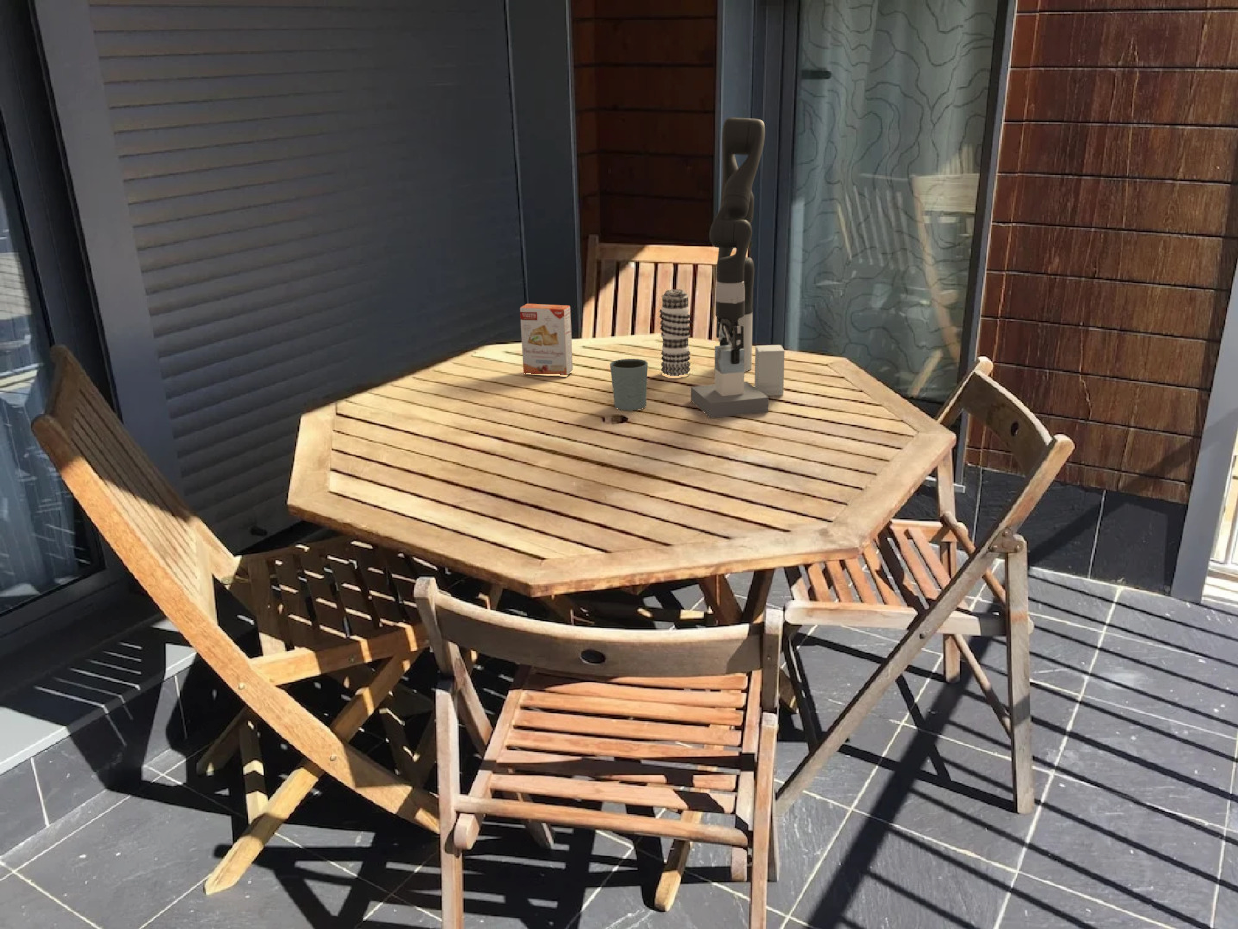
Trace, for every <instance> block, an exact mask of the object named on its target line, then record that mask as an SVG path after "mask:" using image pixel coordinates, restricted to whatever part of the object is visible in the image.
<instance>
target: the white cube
mask: <svg viewBox="0 0 1238 929" xmlns="http://www.w3.org/2000/svg"><path fill="white" fill-rule="evenodd" d="M744 382H745V372H738V373H727V374H721V373H720V372H719V371H718V370H716V369H715V368H714V385H715V391H717V392H718V393H719V394H720V395H722V396H728V395H738V394H744Z"/></svg>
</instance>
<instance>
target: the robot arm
mask: <svg viewBox="0 0 1238 929" xmlns="http://www.w3.org/2000/svg"><path fill="white" fill-rule="evenodd" d="M721 135H722V136H721V155H722V158H721V159H722V160H721V161H722V162H721V163H722V164H721V166H722V178H721V179H722V181H721V192H720V193H721V194H720V205H719V210H718V212H717V214H716V216H715V218H713V219H714V220H713V221H712V224H711V226H710V229H709V234H708V235H709V241H710V243H711V244H712V245H713V247H715V248H718V253H717V261H716V272H715V273H716V274H715V277H716V282H715V283H716V285H715V301H714V302H715V308H714V309H715V310H714V312H715V313H714V314H715V317H716V328H715V329H716V330H715V331H716V332H715V333H716V334H715V335H716V336H715V337H716V339H718V342H719V346H723V345H730V347H731V364H739V362H740V349H744V373H745V372H749V371H751V370H752V364H753V363H752V357H753V356H752V355H753V353H752V352H753V314H754V313H753V310H754V309H753V304H754V302H753V298H754V297H753V296H754V285H755V284H754V282H755V280H754V279H755V263H754V262H755V261H754V260H753V259H752V258H751V257H750V256H749V257H748V256H747V253H748V250H749V246H750V242H751V240H752V235H753V228H752V225H751V224H752V222H753V219H754V210H755V209H754V206H755V205H754V204H755V196H754V193H753V191H752V188H753V184H754V180H755V177H756V174H757V171H758V168H759V165H760V160H761V157H762V153H763V149H764V147H765V146H764V145H765V139H766V138H765V137H766V127H765V123H764V121H763V120H761V119H758V118H746V117H728V118H726V119H725V121H724V123H723V125H722V134H721ZM736 155H741V156H747V157H746V159H745V160H744V162H743V163H742V164H741V165H740V166H738V164H737V159H736ZM733 249H736V252H735V253H734V254H733V255H732V252H733ZM736 344H737V345H736ZM750 369H751V370H750ZM748 370H749V371H748Z"/></svg>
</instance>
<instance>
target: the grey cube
mask: <svg viewBox="0 0 1238 929" xmlns="http://www.w3.org/2000/svg"><path fill="white" fill-rule="evenodd" d="M736 345H737V344H736ZM715 369H716V370H718V371H719V372H720V373H721V374H727V373H738V372H744V349H740V362H739V364H731V347H730V345H723V346H720V345H715V346H714V370H715ZM744 373H745V372H744Z"/></svg>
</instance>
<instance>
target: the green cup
mask: <svg viewBox="0 0 1238 929" xmlns="http://www.w3.org/2000/svg"><path fill="white" fill-rule="evenodd" d="M648 365H649V363H648V361H646V360H644V359H641V358H623V359H616V360H613V361H611V362H610V363H609V367H610V375H611V386H612V393H613V394H612V395H613V402H614V408H615V407H616V408H618V409H622V410H628V411H627V412H634V411H633V410H637V411H639V410H638V409H641V410H643V409H642V408H644V407H645V406H646V407H647V394H648V392H647V391H648V388H647V386H648V367H649V366H648ZM646 407H645V408H646ZM616 408H615V409H616ZM645 408H644V409H645ZM618 409H617V410H618ZM622 410H621V411H622ZM629 410H630V411H629Z"/></svg>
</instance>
